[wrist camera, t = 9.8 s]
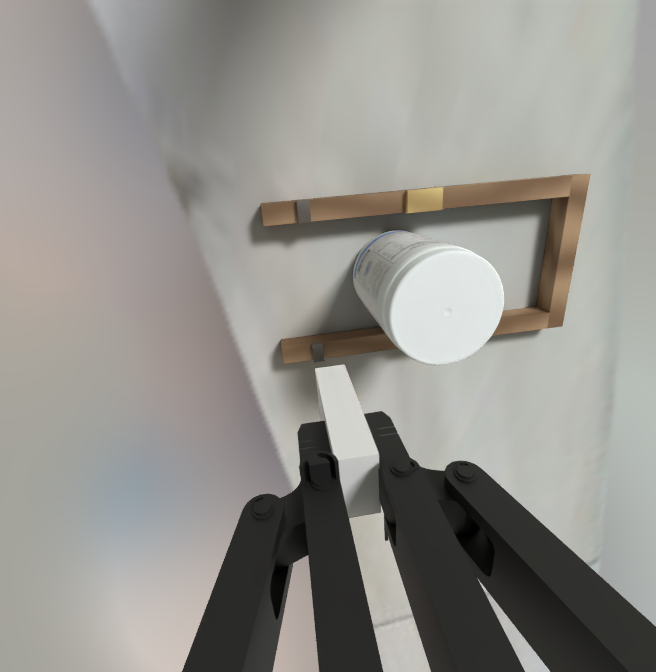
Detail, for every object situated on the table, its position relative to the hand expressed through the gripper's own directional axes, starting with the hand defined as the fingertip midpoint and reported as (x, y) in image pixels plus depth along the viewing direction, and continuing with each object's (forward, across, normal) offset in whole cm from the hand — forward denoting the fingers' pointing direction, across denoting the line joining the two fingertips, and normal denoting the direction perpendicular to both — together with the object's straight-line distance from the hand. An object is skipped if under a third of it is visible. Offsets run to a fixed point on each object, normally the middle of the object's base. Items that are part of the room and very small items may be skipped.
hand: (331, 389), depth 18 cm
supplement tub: (+24, +10, 0) cm, 26 cm away
